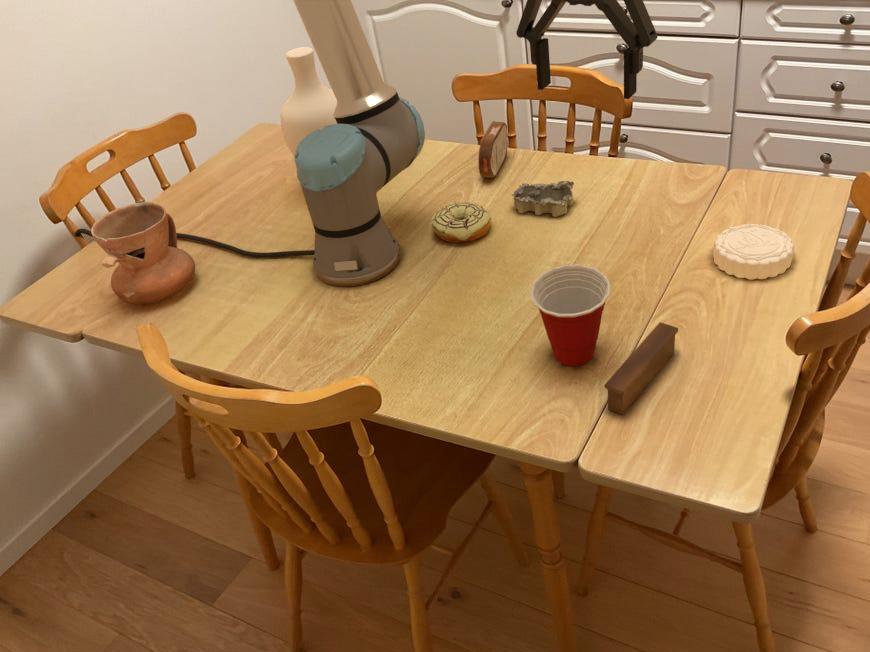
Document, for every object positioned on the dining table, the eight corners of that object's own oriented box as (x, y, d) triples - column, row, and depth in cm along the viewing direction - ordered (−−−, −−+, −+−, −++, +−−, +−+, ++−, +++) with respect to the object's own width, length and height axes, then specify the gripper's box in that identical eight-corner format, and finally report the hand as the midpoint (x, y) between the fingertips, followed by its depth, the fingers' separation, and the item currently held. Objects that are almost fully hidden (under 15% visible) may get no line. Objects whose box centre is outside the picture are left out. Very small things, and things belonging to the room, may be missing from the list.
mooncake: (777, 235, 128) (780, 216, 126) (802, 275, 119) (806, 256, 117) (704, 244, 129) (706, 225, 127) (724, 284, 120) (726, 265, 118)
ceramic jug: (166, 320, 131) (132, 248, 122) (97, 313, 135) (60, 243, 126) (222, 261, 144) (195, 193, 135) (157, 257, 148) (127, 190, 139)
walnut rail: (605, 409, 102) (604, 384, 99) (659, 346, 110) (659, 321, 108) (623, 417, 101) (623, 391, 98) (677, 353, 109) (678, 327, 106)
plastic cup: (526, 373, 110) (518, 304, 102) (549, 327, 117) (544, 260, 109) (600, 385, 106) (598, 315, 98) (620, 337, 113) (619, 268, 105)
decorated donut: (469, 251, 136) (467, 233, 134) (422, 238, 142) (418, 220, 139) (502, 223, 142) (499, 205, 140) (455, 212, 148) (452, 194, 145)
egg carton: (577, 200, 146) (576, 180, 143) (562, 220, 141) (561, 200, 138) (526, 193, 150) (524, 174, 147) (509, 212, 145) (507, 192, 143)
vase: (288, 190, 164) (246, 57, 146) (342, 164, 170) (309, 33, 152) (325, 210, 155) (287, 70, 137) (382, 181, 161) (352, 44, 144)
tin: (497, 151, 166) (493, 113, 160) (511, 151, 165) (508, 113, 160) (479, 185, 155) (474, 146, 150) (494, 185, 154) (489, 146, 149)
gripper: (686, -82, 95) (678, 88, 108) (510, -81, 106) (523, 73, 120) (663, -67, 90) (658, 110, 103) (482, -67, 102) (498, 92, 115)
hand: (586, 90), depth 112 cm, fingers open, 13 cm apart
